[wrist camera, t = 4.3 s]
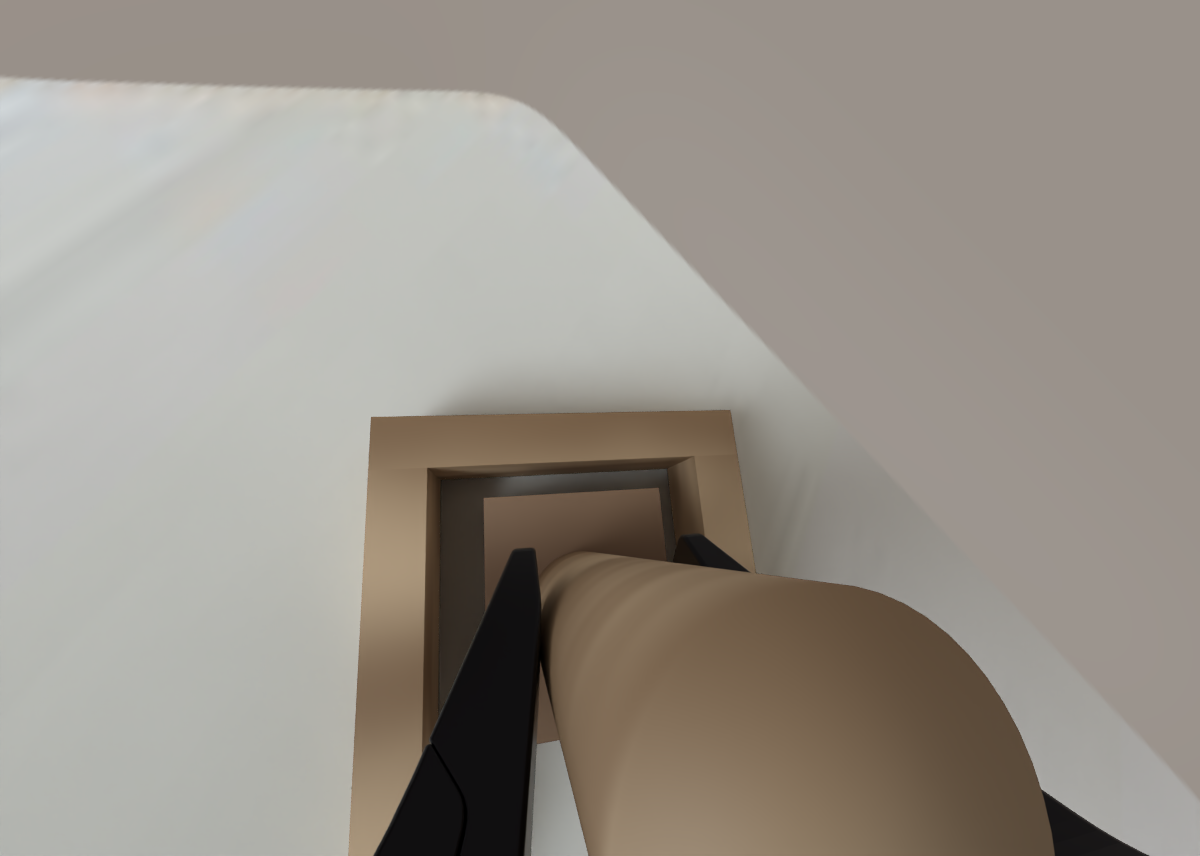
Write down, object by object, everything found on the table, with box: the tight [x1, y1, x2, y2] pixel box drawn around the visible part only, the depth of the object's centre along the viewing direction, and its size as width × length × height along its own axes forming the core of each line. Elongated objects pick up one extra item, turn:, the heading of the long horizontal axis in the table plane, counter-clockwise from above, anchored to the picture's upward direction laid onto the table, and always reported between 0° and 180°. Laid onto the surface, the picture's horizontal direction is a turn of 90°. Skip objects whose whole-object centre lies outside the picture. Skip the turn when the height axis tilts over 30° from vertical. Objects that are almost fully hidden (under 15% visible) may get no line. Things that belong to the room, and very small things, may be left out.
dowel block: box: [484, 488, 1055, 856], centre depth 8 cm, size 6×5×12 cm
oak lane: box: [348, 410, 756, 856], centre depth 13 cm, size 14×11×2 cm
